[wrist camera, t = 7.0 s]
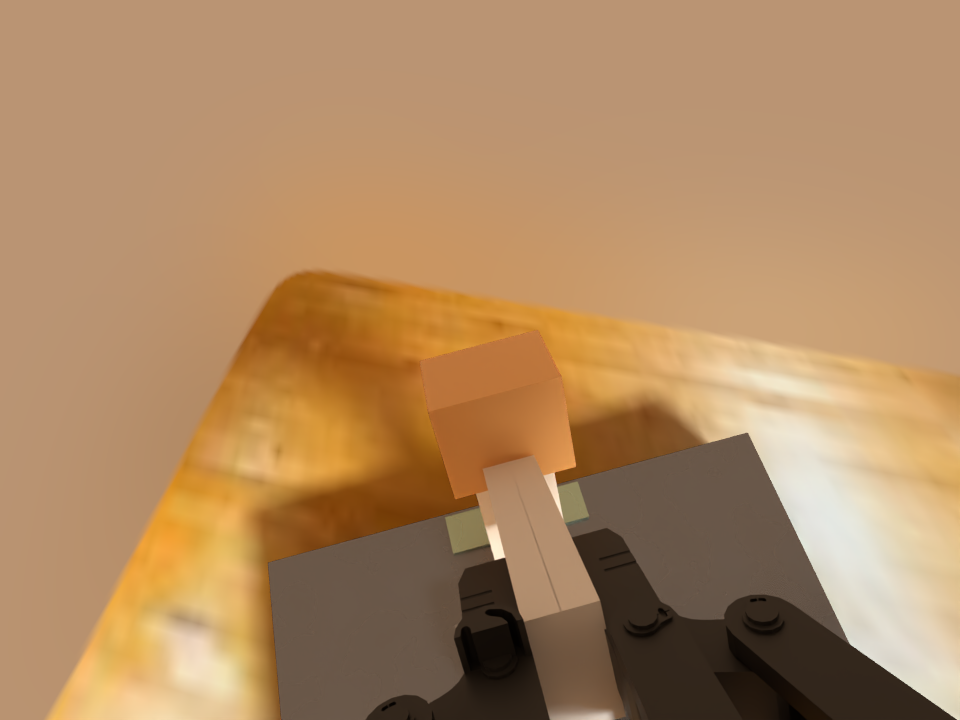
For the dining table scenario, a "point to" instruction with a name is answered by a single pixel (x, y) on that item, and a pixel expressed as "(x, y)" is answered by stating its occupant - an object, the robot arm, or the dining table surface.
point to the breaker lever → (498, 415)
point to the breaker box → (464, 543)
